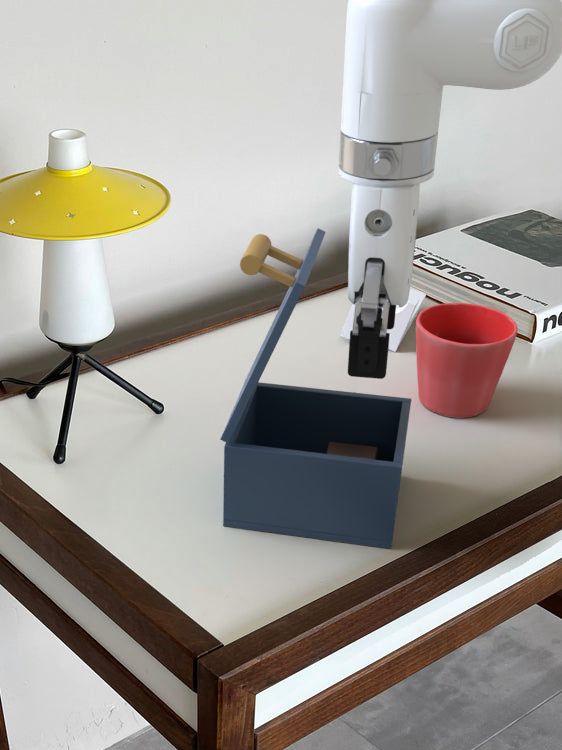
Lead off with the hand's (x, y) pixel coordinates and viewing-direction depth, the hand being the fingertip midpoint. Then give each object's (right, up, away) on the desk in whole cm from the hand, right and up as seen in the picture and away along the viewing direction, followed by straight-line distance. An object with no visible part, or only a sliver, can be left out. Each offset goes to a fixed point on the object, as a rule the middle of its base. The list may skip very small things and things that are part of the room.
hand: (371, 350), depth 90 cm
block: (-1, -13, +7) cm, 15 cm away
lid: (-8, +1, 0) cm, 8 cm away
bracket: (+9, +9, +40) cm, 42 cm away
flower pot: (+14, -2, +24) cm, 28 cm away
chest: (-4, -13, +9) cm, 16 cm away
